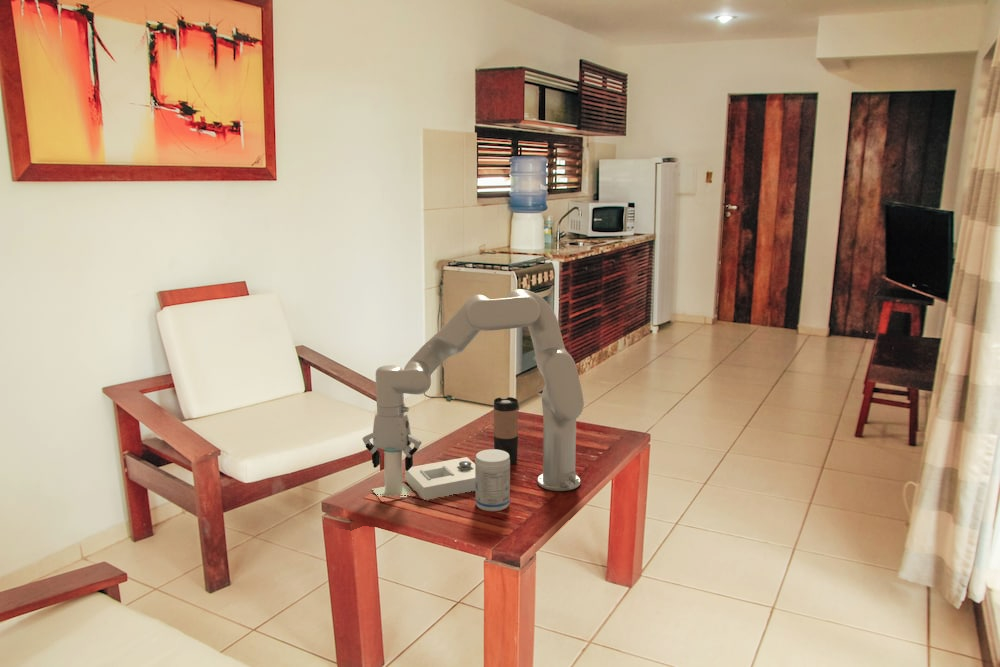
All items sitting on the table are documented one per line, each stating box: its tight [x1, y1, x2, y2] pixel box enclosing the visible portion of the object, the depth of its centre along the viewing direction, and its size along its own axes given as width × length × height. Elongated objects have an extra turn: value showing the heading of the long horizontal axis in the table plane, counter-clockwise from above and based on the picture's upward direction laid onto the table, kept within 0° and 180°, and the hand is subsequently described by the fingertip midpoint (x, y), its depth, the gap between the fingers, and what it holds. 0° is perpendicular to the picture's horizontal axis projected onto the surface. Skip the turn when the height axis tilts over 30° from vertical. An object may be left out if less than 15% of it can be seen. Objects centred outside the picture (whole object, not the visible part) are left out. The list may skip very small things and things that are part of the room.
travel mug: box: [493, 396, 519, 465], centre depth 240 cm, size 8×8×20 cm
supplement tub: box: [474, 448, 511, 512], centre depth 208 cm, size 10×10×15 cm
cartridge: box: [383, 448, 403, 496], centre depth 216 cm, size 5×5×14 cm
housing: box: [404, 456, 476, 501], centre depth 223 cm, size 16×20×4 cm
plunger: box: [459, 461, 471, 471], centre depth 226 cm, size 4×4×5 cm
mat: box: [371, 482, 414, 497], centre depth 218 cm, size 10×10×1 cm
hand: (392, 467), depth 216 cm, fingers open, 9 cm apart
